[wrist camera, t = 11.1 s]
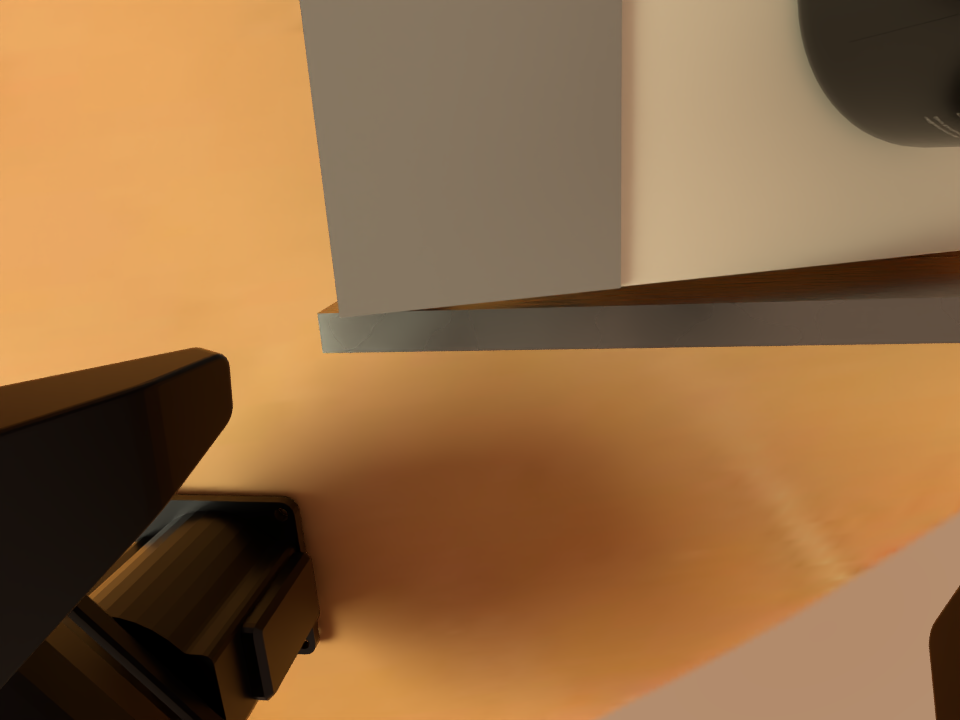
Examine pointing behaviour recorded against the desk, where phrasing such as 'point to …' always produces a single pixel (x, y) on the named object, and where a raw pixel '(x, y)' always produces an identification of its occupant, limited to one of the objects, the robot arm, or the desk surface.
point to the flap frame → (687, 313)
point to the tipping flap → (594, 150)
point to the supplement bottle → (888, 65)
